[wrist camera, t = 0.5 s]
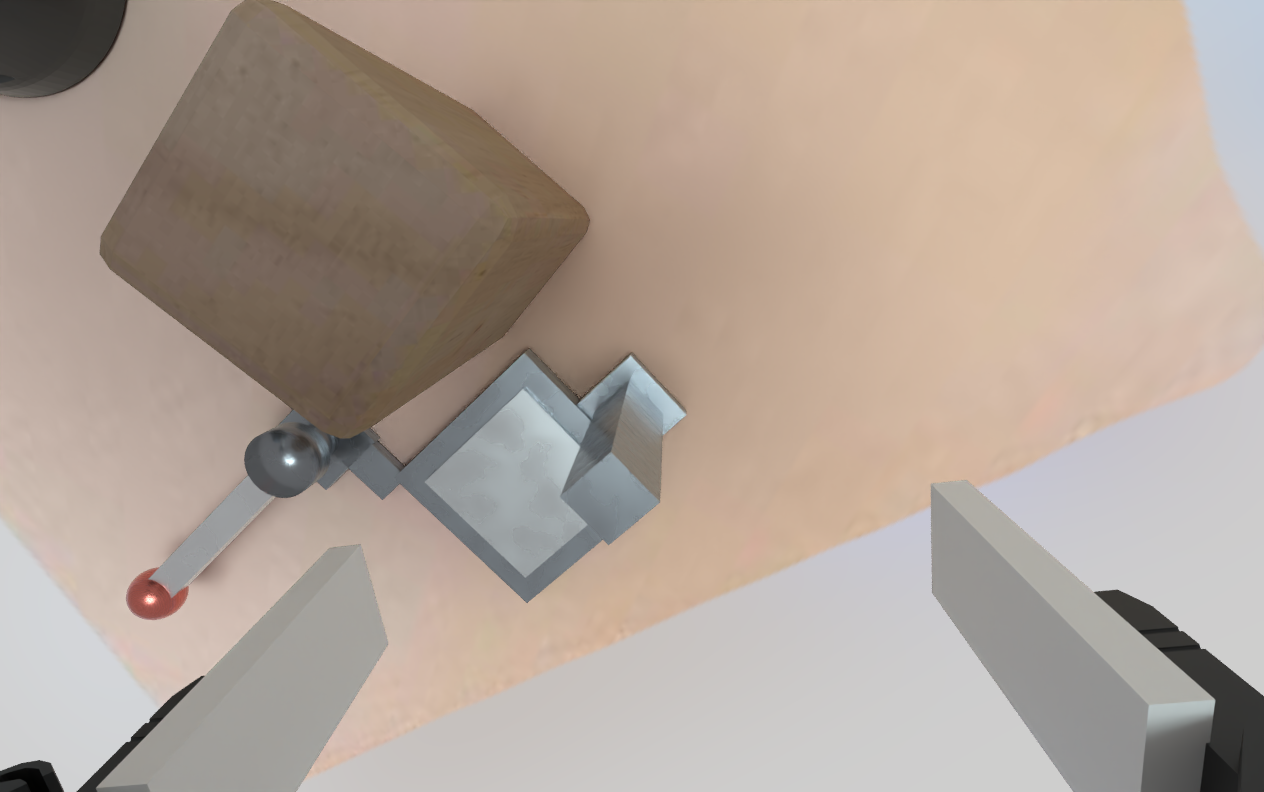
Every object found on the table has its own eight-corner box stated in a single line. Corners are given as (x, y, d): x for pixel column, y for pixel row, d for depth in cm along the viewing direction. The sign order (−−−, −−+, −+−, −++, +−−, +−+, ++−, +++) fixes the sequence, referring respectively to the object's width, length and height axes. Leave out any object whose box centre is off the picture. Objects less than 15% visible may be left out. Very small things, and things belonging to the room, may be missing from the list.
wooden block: (497, 346, 40) (337, 460, 21) (366, 239, 39) (69, 255, 20) (599, 218, 38) (524, 216, 19) (463, 100, 37) (234, -33, 17)
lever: (138, 573, 43) (97, 601, 40) (298, 405, 39) (266, 421, 36) (186, 613, 43) (149, 643, 40) (348, 452, 40) (321, 472, 36)
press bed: (275, 432, 43) (91, 529, 29) (492, 204, 38) (394, 195, 25) (487, 628, 46) (410, 798, 32) (712, 438, 41) (733, 544, 28)
